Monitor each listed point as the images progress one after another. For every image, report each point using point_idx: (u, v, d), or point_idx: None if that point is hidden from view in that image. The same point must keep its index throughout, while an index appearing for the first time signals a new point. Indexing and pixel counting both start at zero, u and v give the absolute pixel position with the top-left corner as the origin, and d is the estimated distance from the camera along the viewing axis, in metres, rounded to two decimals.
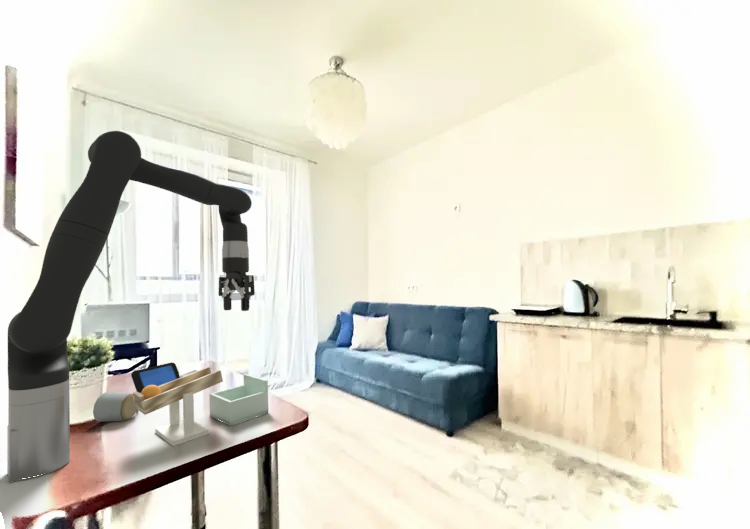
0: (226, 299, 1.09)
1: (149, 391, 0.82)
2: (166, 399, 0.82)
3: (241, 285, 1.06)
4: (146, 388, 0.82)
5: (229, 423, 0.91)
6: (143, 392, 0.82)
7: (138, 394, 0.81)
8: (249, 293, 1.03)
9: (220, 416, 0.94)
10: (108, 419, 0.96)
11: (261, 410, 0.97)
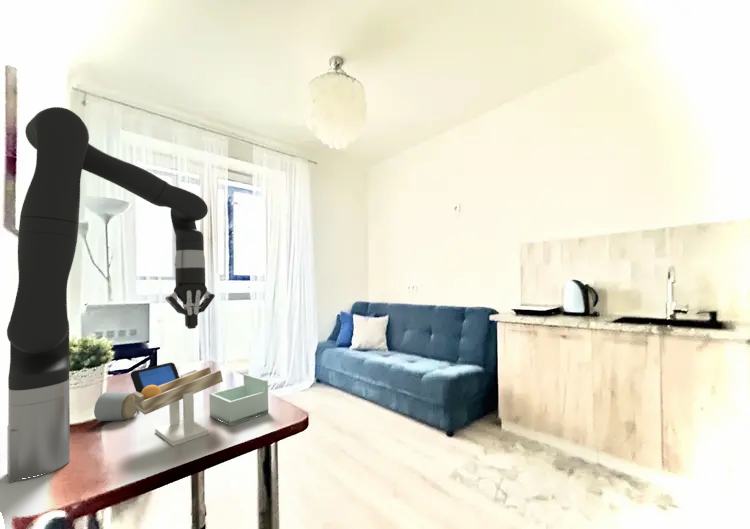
0: None
1: (149, 391, 0.82)
2: (166, 399, 0.82)
3: None
4: (146, 388, 0.82)
5: (229, 423, 0.91)
6: (143, 392, 0.82)
7: (138, 394, 0.81)
8: None
9: (220, 416, 0.94)
10: (109, 418, 0.96)
11: (261, 410, 0.97)
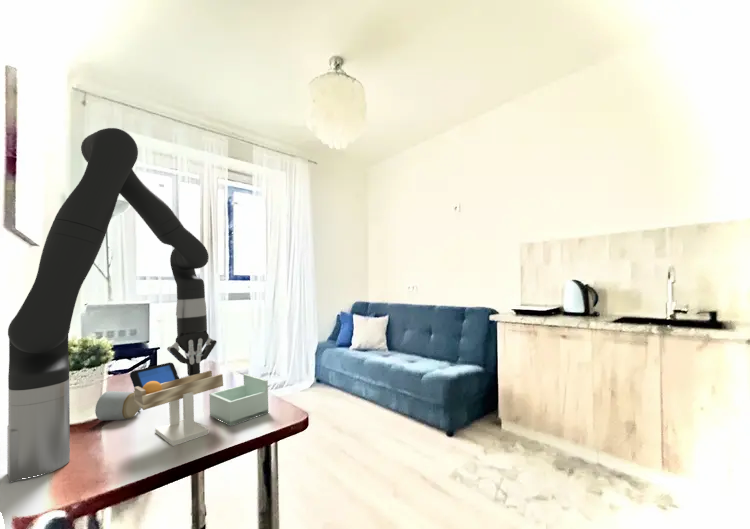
0: None
1: (151, 386, 0.82)
2: (166, 396, 0.82)
3: None
4: (148, 383, 0.83)
5: (229, 423, 0.91)
6: (145, 387, 0.82)
7: (140, 389, 0.81)
8: None
9: (220, 416, 0.94)
10: (110, 418, 0.97)
11: (261, 410, 0.97)
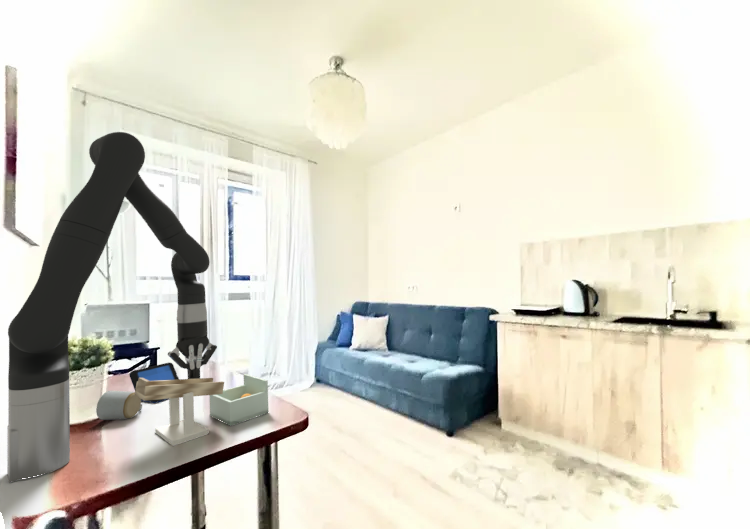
0: None
1: None
2: (167, 392, 0.83)
3: None
4: None
5: (229, 423, 0.91)
6: None
7: (144, 379, 0.82)
8: None
9: (220, 416, 0.94)
10: (111, 417, 0.97)
11: (261, 410, 0.97)
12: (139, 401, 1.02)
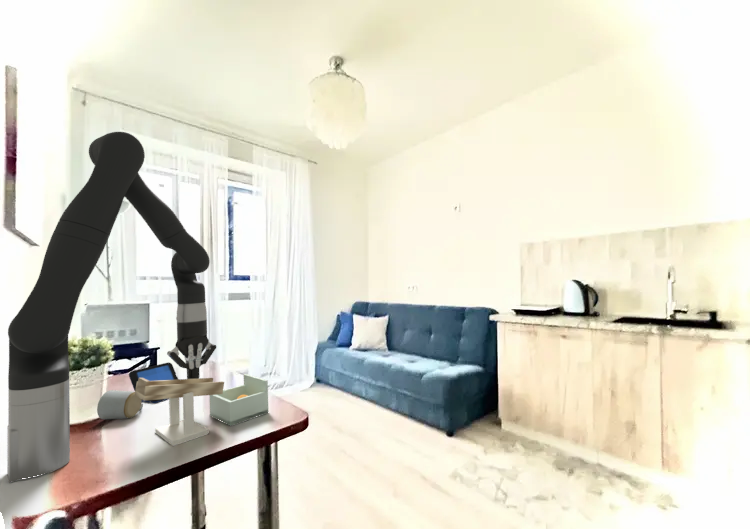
0: None
1: None
2: (167, 392, 0.83)
3: None
4: None
5: (229, 423, 0.91)
6: None
7: (144, 379, 0.82)
8: None
9: (220, 416, 0.94)
10: (112, 417, 0.97)
11: (261, 410, 0.97)
12: (140, 401, 1.02)
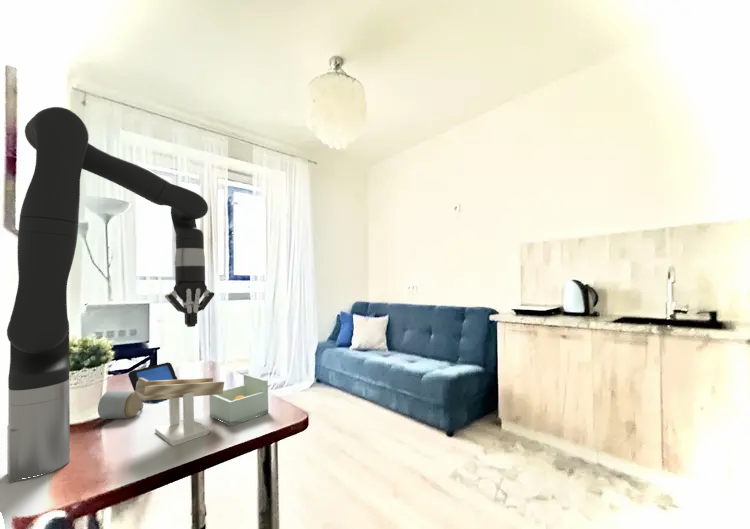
0: None
1: None
2: (167, 392, 0.83)
3: None
4: None
5: (229, 423, 0.91)
6: None
7: (144, 379, 0.82)
8: None
9: (220, 416, 0.94)
10: (112, 416, 0.98)
11: (261, 410, 0.97)
12: (140, 400, 1.03)
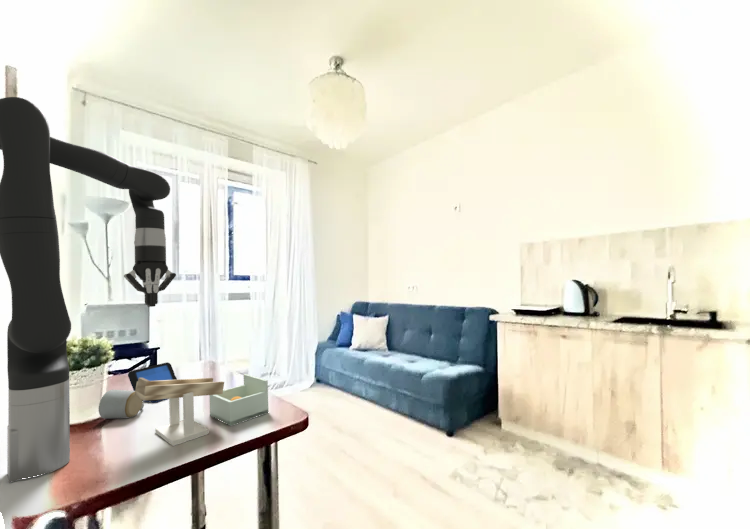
0: None
1: None
2: (167, 392, 0.83)
3: None
4: None
5: (229, 423, 0.91)
6: None
7: (144, 379, 0.82)
8: None
9: (220, 416, 0.94)
10: (113, 416, 0.98)
11: (261, 410, 0.97)
12: (141, 400, 1.03)
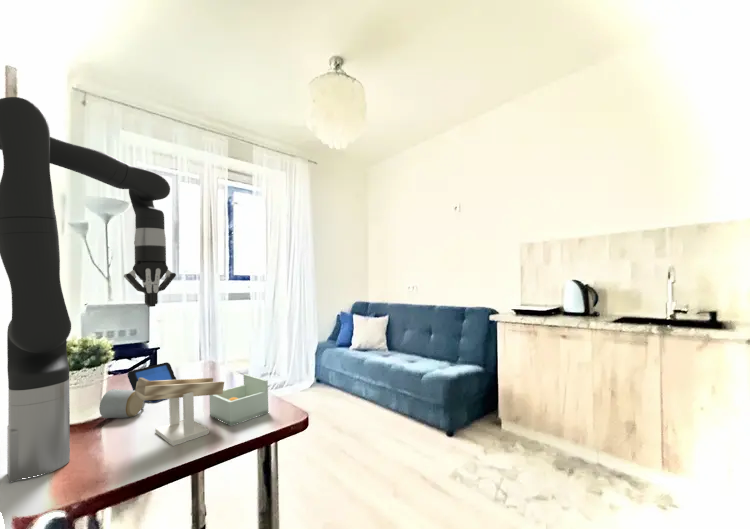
0: None
1: None
2: (167, 392, 0.83)
3: None
4: None
5: (229, 423, 0.91)
6: None
7: (144, 379, 0.82)
8: None
9: (220, 416, 0.94)
10: (114, 416, 0.98)
11: (261, 410, 0.97)
12: (141, 400, 1.03)
